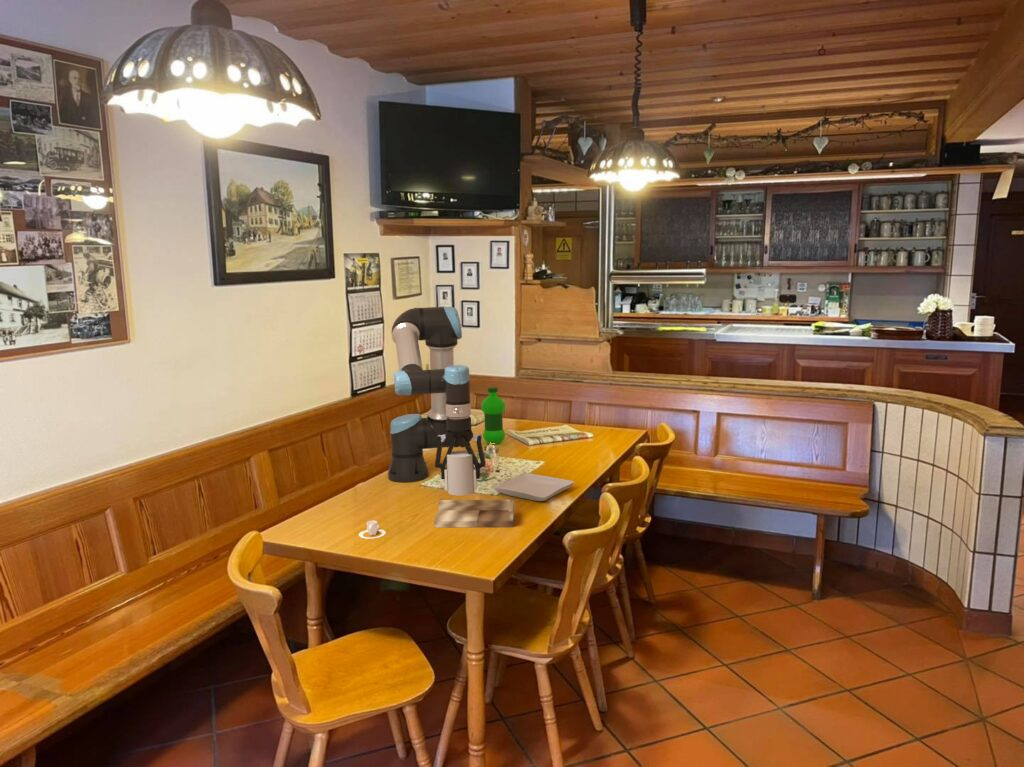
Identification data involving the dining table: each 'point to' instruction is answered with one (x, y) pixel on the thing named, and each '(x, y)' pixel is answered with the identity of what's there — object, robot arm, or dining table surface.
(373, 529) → the white looped ring
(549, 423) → the dining table surface
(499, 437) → the plastic bottle
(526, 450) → the dining table surface
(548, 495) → the salad plate
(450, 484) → the beige cylinder
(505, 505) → the rail board
